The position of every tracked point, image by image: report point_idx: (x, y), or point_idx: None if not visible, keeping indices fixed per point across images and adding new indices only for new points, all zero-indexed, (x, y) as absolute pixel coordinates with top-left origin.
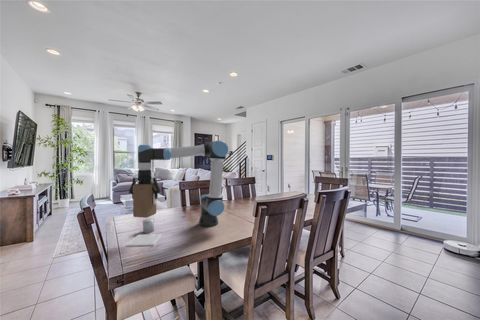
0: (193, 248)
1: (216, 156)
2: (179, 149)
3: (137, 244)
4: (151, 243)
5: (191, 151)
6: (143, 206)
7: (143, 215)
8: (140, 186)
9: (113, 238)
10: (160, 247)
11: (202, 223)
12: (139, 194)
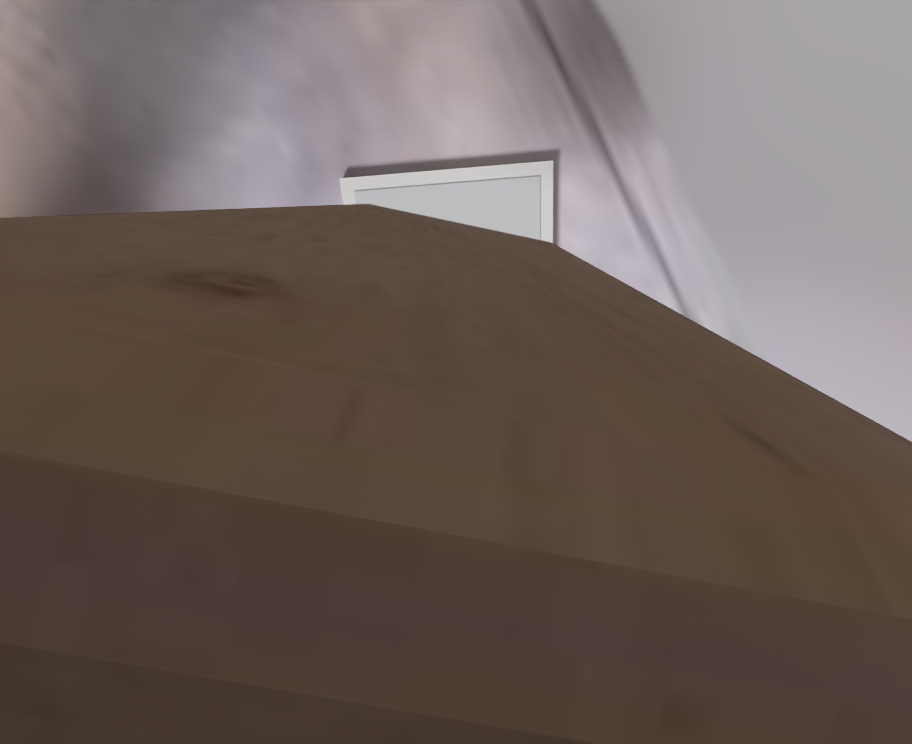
0: (20, 125)
1: None
2: None
3: (467, 173)
4: (364, 190)
5: None
6: (370, 215)
7: (399, 211)
8: (239, 364)
9: (720, 317)
10: (276, 143)
11: None
12: (438, 264)
